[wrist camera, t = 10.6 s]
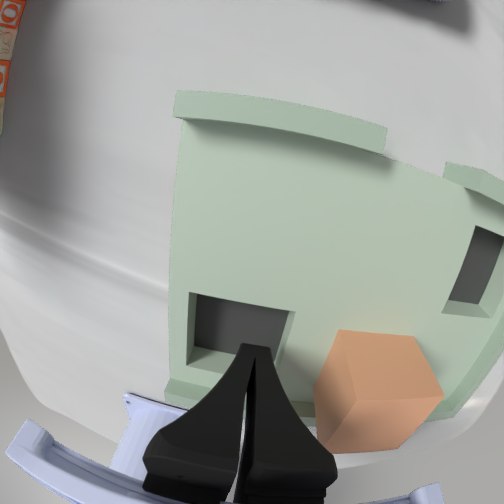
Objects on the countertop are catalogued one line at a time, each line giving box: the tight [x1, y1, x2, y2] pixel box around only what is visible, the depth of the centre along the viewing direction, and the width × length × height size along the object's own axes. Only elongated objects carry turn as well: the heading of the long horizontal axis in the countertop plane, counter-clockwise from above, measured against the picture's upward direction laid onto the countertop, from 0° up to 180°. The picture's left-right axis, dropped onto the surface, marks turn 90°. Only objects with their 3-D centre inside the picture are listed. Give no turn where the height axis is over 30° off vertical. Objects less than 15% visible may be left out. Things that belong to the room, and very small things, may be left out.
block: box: [313, 329, 445, 454], centre depth 11 cm, size 4×4×4 cm
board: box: [164, 90, 504, 426], centre depth 13 cm, size 16×21×3 cm
